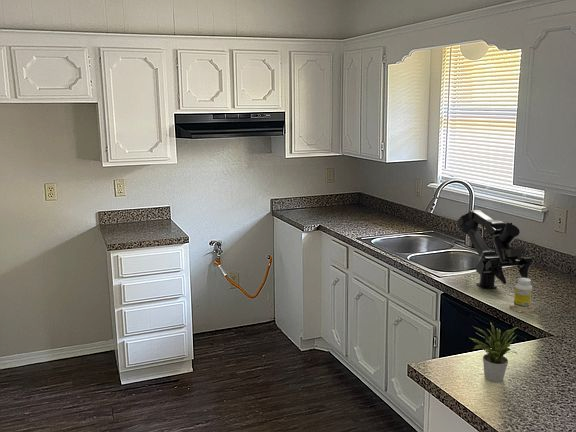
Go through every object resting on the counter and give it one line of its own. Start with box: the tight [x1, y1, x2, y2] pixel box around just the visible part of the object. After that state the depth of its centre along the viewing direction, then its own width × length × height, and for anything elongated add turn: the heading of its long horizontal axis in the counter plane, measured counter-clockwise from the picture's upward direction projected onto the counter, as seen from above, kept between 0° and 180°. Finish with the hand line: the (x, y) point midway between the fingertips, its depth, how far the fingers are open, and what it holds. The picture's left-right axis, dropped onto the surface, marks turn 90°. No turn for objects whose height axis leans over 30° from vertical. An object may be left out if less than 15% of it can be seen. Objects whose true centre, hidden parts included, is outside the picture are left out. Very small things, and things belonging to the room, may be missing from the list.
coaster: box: [509, 302, 536, 313], centre depth 229 cm, size 9×9×1 cm
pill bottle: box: [513, 277, 533, 309], centre depth 228 cm, size 6×6×11 cm
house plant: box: [469, 321, 519, 383], centre depth 173 cm, size 14×14×16 cm
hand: (515, 283), depth 233 cm, fingers open, 9 cm apart
